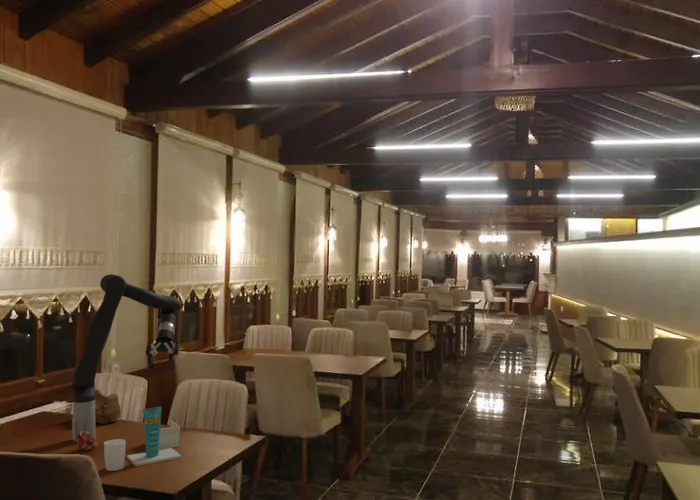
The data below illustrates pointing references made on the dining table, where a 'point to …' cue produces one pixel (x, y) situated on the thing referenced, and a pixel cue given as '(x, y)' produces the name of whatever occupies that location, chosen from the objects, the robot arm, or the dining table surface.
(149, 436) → the tube
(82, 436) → the flower
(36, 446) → the dining table surface
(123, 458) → the white cup
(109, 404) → the rough brown rock
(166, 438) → the carton
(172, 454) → the tile
